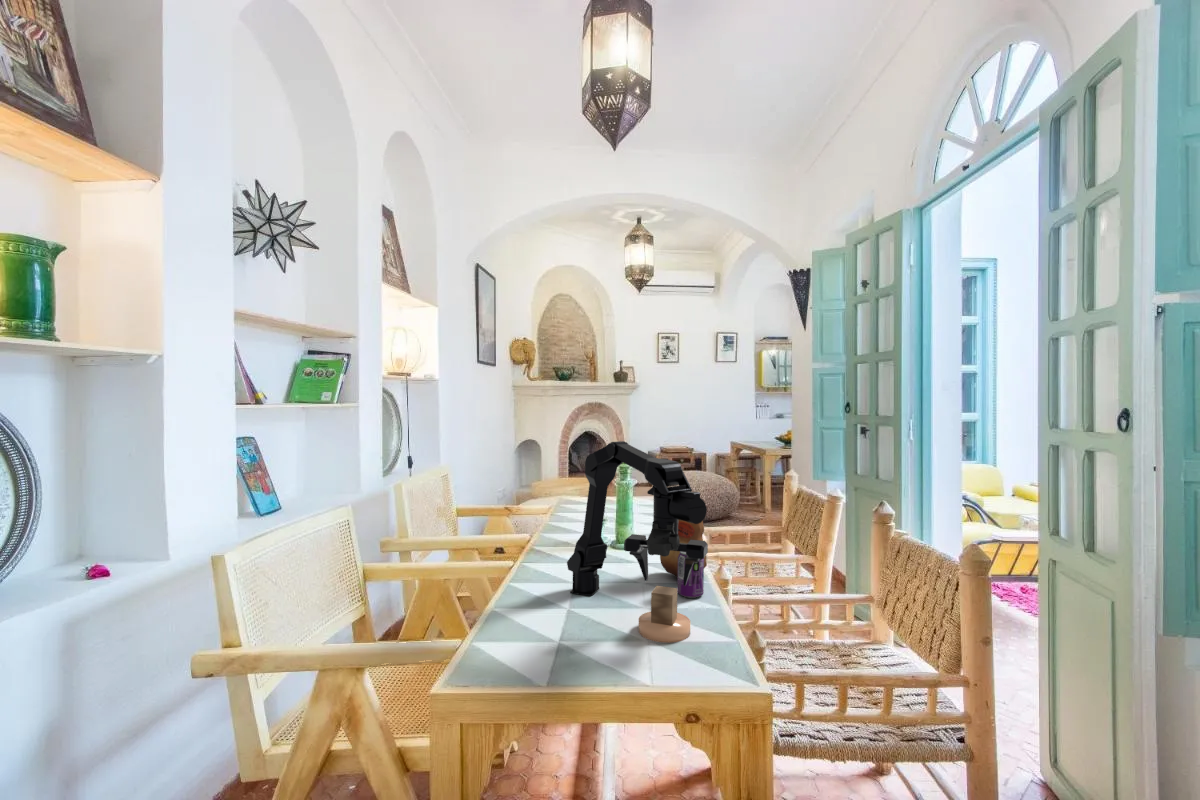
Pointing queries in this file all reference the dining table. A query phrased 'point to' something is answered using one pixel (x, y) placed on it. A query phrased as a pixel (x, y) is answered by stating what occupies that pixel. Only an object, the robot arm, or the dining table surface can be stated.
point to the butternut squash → (685, 534)
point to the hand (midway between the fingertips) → (665, 582)
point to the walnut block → (664, 605)
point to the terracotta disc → (664, 629)
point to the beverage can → (690, 578)
